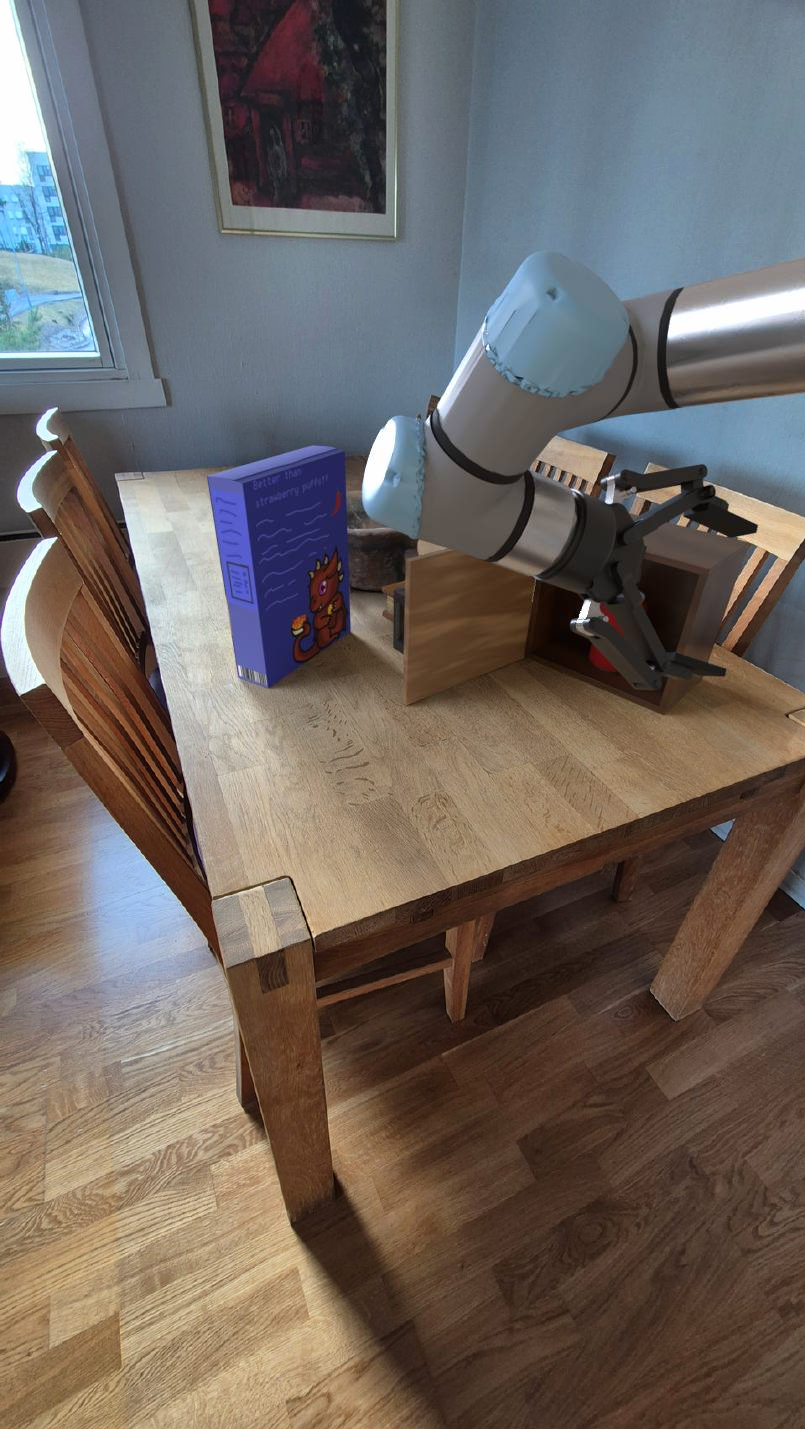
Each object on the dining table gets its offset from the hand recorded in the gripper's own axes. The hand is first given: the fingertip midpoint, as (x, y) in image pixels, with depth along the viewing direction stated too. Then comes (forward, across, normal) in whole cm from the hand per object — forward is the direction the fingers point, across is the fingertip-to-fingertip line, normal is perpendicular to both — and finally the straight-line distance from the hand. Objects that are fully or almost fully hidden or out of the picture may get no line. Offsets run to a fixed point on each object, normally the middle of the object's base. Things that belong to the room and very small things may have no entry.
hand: (729, 602), depth 59 cm
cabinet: (+20, +3, -37) cm, 42 cm away
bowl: (-9, -8, -80) cm, 80 cm away
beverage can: (+19, +2, -36) cm, 41 cm away
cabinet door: (-4, +9, -44) cm, 45 cm away
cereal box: (-25, +11, -59) cm, 65 cm away
